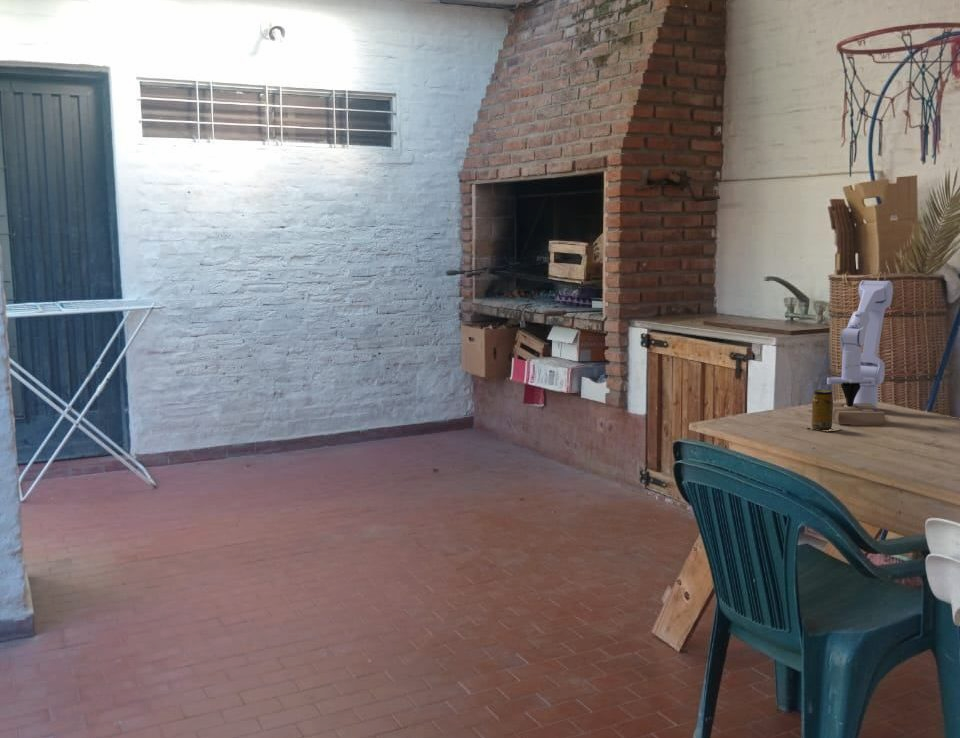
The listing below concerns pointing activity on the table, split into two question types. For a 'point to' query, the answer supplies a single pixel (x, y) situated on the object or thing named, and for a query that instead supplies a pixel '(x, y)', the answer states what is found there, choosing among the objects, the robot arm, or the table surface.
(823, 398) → the condiment
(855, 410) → the board
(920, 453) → the table surface
